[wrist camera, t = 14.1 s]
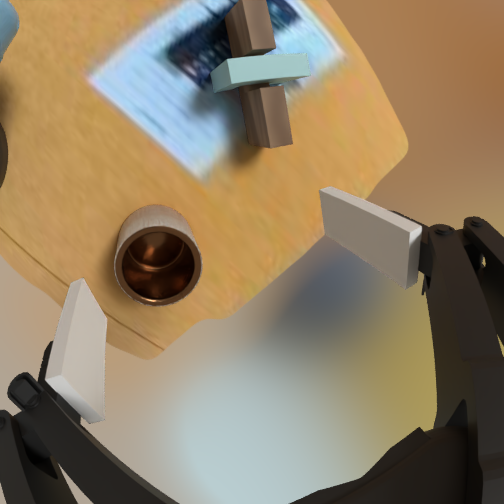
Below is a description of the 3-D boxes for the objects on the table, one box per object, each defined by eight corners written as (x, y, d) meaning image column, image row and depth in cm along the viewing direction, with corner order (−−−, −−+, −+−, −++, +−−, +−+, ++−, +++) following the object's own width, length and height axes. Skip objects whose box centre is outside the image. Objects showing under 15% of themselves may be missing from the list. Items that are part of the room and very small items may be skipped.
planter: (185, 275, 46) (196, 309, 38) (116, 270, 42) (112, 304, 33) (197, 208, 42) (211, 229, 34) (122, 199, 38) (116, 219, 30)
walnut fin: (248, 144, 41) (270, 148, 34) (224, 17, 32) (241, -3, 25) (268, 140, 42) (292, 144, 35) (244, 16, 32) (265, -3, 26)
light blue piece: (214, 92, 36) (231, 83, 29) (210, 72, 35) (227, 59, 27) (280, 83, 38) (311, 75, 31) (276, 64, 37) (306, 53, 29)
